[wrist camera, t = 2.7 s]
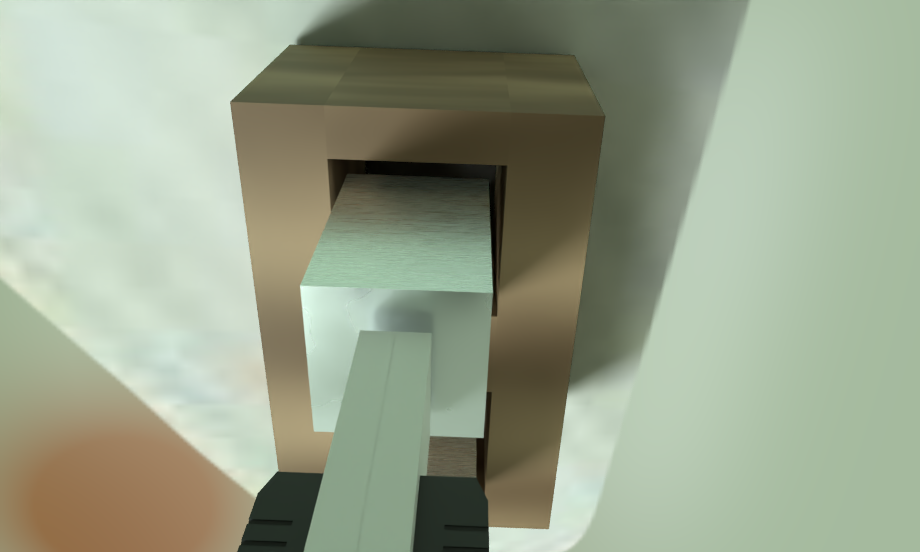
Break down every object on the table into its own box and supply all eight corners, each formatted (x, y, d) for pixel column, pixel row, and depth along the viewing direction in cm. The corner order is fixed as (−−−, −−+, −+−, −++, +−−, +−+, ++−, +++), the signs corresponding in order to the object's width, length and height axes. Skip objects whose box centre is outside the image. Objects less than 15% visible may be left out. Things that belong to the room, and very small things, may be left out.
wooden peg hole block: (289, 44, 25) (230, 101, 19) (574, 55, 25) (604, 115, 19) (320, 399, 33) (285, 518, 27) (535, 407, 33) (548, 528, 27)
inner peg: (347, 173, 20) (300, 285, 15) (488, 179, 20) (492, 292, 15) (353, 294, 22) (313, 431, 17) (482, 299, 22) (483, 437, 17)
